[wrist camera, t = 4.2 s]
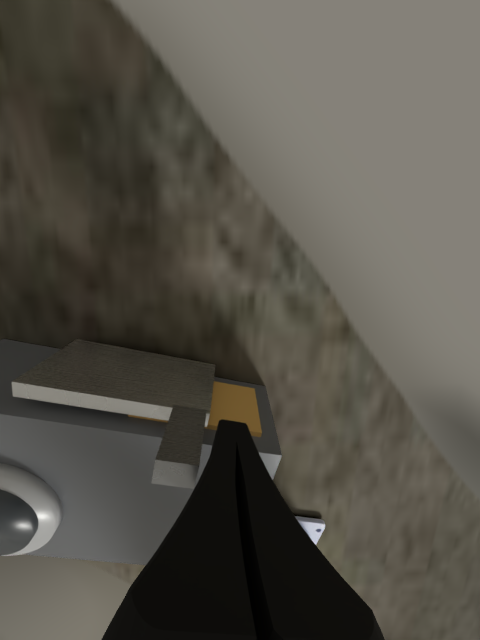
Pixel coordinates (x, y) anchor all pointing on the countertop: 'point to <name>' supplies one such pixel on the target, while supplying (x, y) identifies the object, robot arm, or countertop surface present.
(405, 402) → the countertop surface
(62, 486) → the camera housing
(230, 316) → the countertop surface
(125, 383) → the side door
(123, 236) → the countertop surface
